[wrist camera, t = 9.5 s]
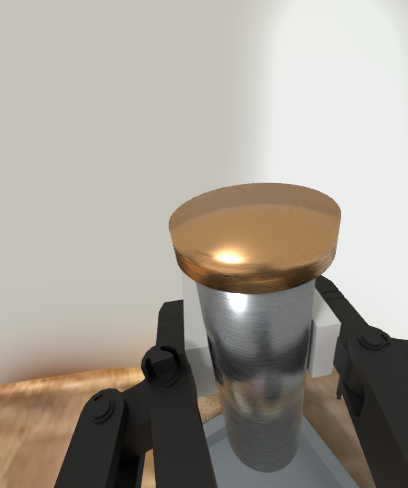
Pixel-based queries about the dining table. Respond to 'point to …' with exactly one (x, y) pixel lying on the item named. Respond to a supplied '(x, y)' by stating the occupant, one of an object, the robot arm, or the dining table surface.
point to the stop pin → (258, 303)
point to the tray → (283, 481)
